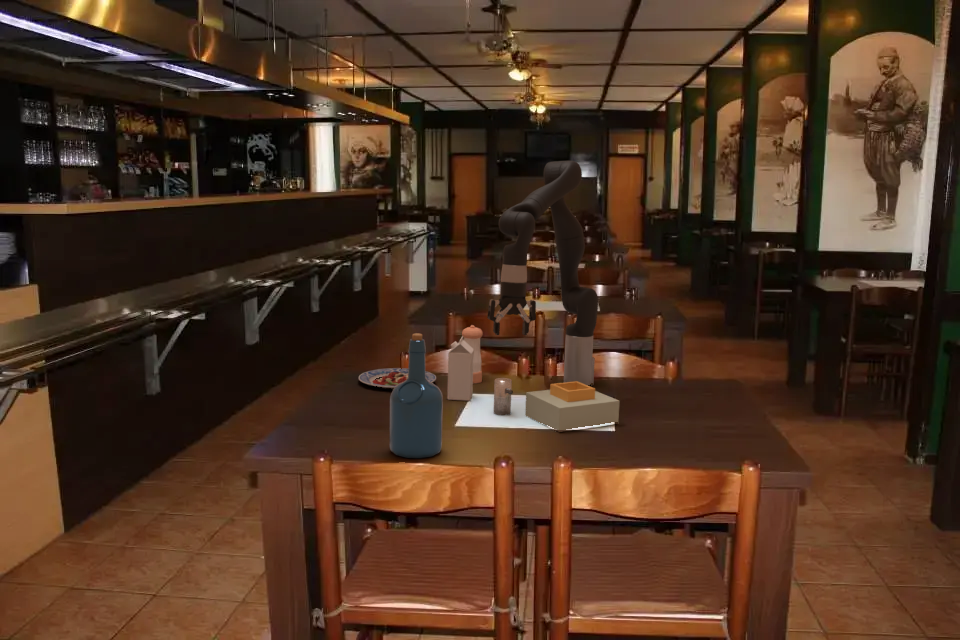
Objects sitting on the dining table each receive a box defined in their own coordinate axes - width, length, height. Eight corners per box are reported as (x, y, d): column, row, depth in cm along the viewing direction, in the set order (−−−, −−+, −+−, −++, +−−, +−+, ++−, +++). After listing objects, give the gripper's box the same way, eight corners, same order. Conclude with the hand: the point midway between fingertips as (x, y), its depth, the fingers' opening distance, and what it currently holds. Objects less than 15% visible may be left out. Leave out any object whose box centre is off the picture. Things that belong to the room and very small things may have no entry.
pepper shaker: (471, 377, 287) (473, 322, 284) (486, 381, 282) (487, 325, 279) (456, 380, 283) (457, 324, 279) (470, 384, 277) (471, 328, 274)
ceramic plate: (385, 371, 295) (385, 362, 294) (449, 380, 283) (449, 371, 283) (342, 386, 272) (342, 377, 271) (410, 397, 261) (411, 388, 260)
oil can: (490, 411, 246) (491, 378, 244) (505, 409, 248) (506, 377, 247) (502, 418, 240) (503, 384, 238) (517, 416, 242) (518, 382, 240)
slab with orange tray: (580, 407, 253) (582, 375, 251) (618, 424, 237) (620, 390, 235) (523, 414, 244) (525, 381, 242) (558, 432, 227) (560, 397, 226)
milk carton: (472, 395, 264) (474, 336, 261) (470, 401, 257) (471, 341, 254) (450, 394, 265) (451, 335, 261) (447, 400, 258) (448, 339, 254)
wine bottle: (401, 440, 217) (402, 327, 212) (449, 446, 214) (451, 331, 208) (380, 456, 204) (380, 337, 199) (431, 463, 201) (432, 341, 196)
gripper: (532, 279, 249) (529, 332, 252) (486, 278, 245) (484, 332, 248) (541, 282, 242) (537, 337, 244) (494, 281, 238) (491, 336, 240)
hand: (510, 334), depth 246 cm, fingers open, 8 cm apart
